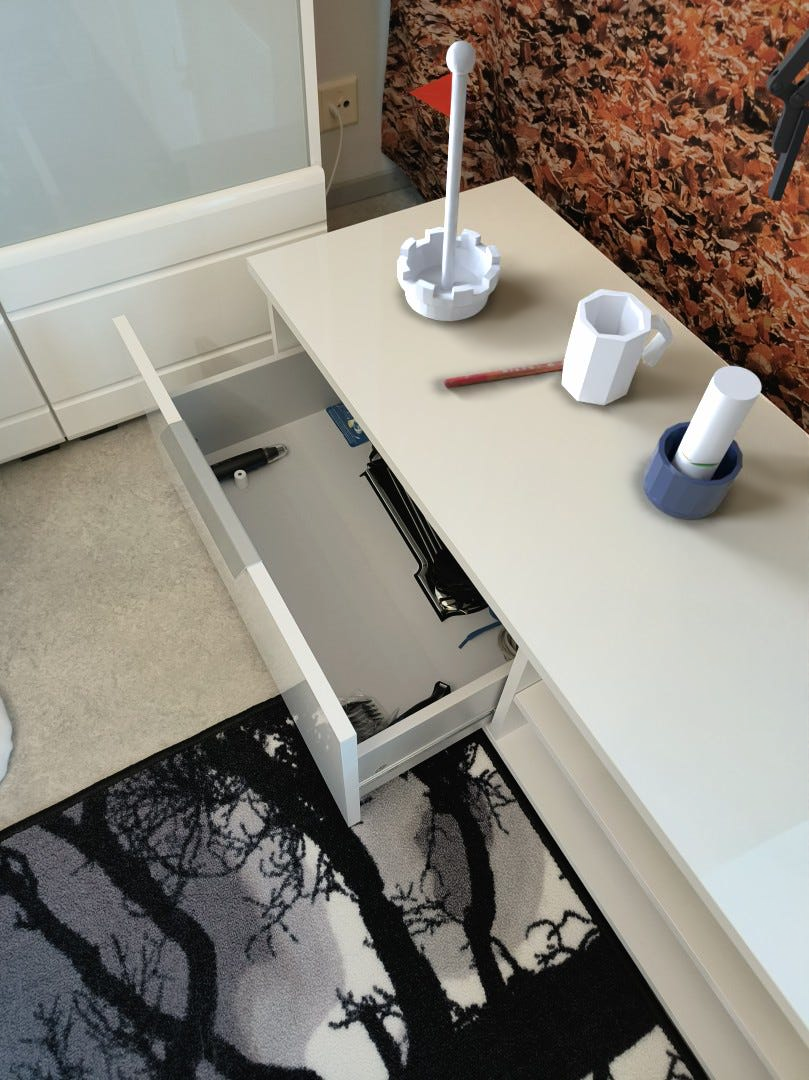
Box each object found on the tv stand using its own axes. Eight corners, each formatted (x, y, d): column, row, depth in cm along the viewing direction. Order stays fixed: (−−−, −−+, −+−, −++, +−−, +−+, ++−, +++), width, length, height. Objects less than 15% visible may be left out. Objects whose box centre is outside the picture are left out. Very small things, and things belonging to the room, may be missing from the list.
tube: (656, 482, 80) (703, 382, 67) (678, 461, 81) (729, 359, 69) (690, 506, 78) (745, 407, 66) (712, 483, 80) (770, 382, 67)
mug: (572, 409, 87) (590, 346, 78) (551, 358, 91) (566, 292, 83) (669, 396, 88) (697, 332, 80) (643, 346, 92) (667, 281, 84)
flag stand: (499, 266, 101) (531, 16, 76) (492, 331, 94) (525, 79, 69) (405, 257, 102) (405, 8, 77) (390, 321, 95) (386, 69, 70)
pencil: (445, 389, 88) (445, 383, 88) (443, 383, 89) (443, 377, 88) (595, 366, 91) (597, 360, 90) (592, 359, 91) (594, 354, 90)
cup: (734, 481, 81) (756, 446, 76) (701, 532, 77) (722, 499, 72) (663, 446, 84) (680, 409, 79) (629, 494, 80) (644, 458, 75)
